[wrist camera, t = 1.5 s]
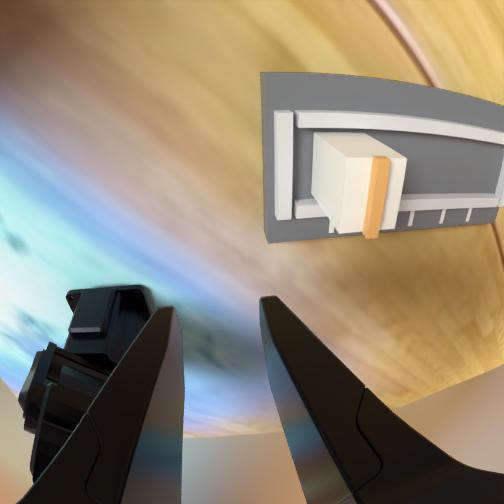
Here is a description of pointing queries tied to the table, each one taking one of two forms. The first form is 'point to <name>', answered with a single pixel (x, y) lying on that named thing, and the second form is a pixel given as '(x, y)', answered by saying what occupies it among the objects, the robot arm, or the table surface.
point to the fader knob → (357, 181)
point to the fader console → (390, 134)
